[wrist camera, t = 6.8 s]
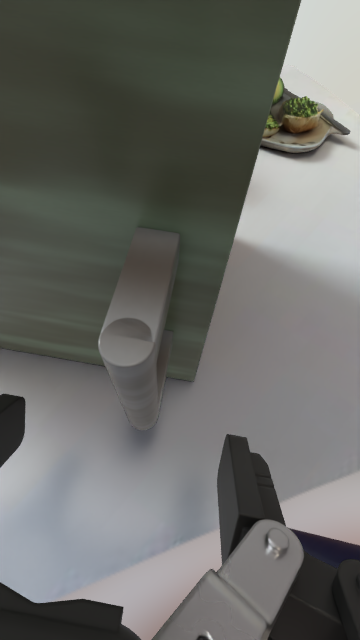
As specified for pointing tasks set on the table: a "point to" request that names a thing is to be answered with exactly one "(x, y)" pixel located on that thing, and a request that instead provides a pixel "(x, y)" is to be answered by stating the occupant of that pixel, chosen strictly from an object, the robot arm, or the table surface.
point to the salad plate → (298, 123)
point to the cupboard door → (128, 175)
